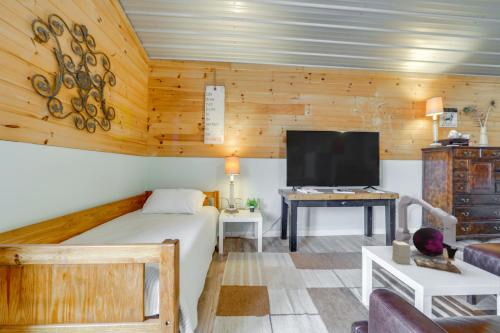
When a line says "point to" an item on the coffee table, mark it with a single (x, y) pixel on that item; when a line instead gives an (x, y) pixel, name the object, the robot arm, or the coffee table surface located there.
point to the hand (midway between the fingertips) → (449, 257)
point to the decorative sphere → (428, 241)
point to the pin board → (437, 265)
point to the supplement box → (401, 252)
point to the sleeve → (445, 255)
